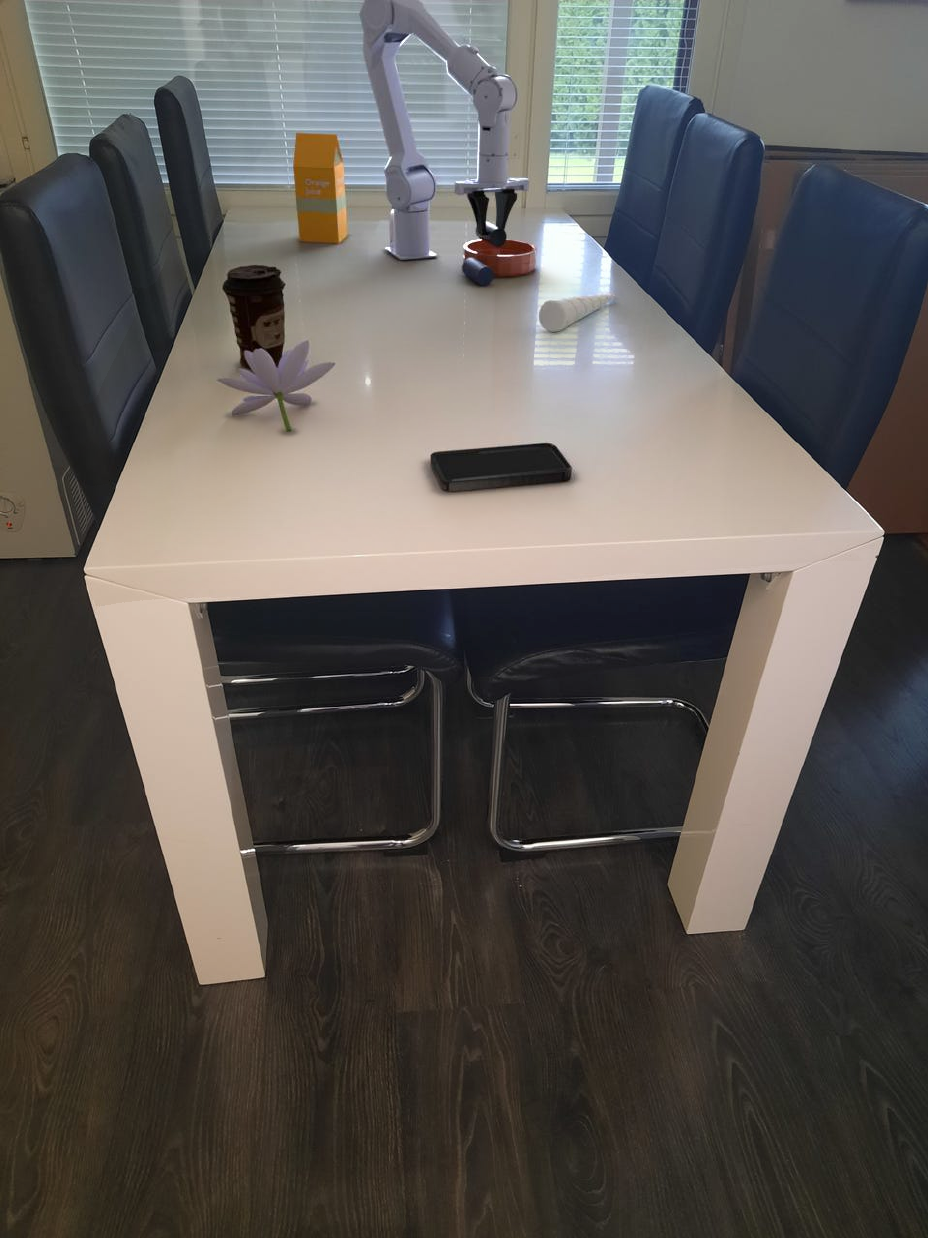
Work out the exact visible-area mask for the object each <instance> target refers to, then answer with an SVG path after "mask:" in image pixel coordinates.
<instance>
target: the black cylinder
mask: <svg viewBox="0 0 928 1238" xmlns="http://www.w3.org/2000/svg"><path fill="white" fill-rule="evenodd" d="M475 235H476V237H477V238H478V240H480V239H481V240H483V241H485V242H487V243H489V244H491V245H492V246H494V247H501V246H502V245H504V243H505V242H506V239H508V237H507V235H508V234H507V231H505V230H503V229H502V228H500V227H498V226H496V224H493V223H491V222H489V221H488V220H486V233H485V235H480V234H478V230H477V225H476V227H475Z"/></svg>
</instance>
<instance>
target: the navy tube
mask: <svg viewBox="0 0 928 1238" xmlns="http://www.w3.org/2000/svg"><path fill="white" fill-rule="evenodd" d="M461 270H462V273H463V275H464V276H466V277H467V278H469V279H470V280H472V281H474V282H475V283H477V284H478V285H480V286H482V287H486V286H489V285H491V283H492V282H493V280H494V278H495V277H494V273H493V270H492V269H491V268H490V267H488V266H486V265H484V264H483V263H481V262H479V261H478V260H476V259H474V258H468V259H466V260H465V261H464V263H463V262H462V266H461Z"/></svg>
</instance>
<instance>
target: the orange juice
mask: <svg viewBox="0 0 928 1238" xmlns="http://www.w3.org/2000/svg"><path fill="white" fill-rule="evenodd" d="M294 144H295V145H294V152H293V165H292V168H293V180H294V190H295V191H294V192H295V206H296V213H297V214H296V215H297V225H298V226H297V227H298V238H299V242H305V243H306V242H308V243H326V244H340V243H341V242H342V241H344V240H345V238H347V237H348V219H347V197H346V196H347V195H346V183H345V182H346V181H345V164H344V160H343V157H342V151H341V147H340V143H339V138H338V135H337V134H330V133H307V132H304V133H303V132H296V133H295V141H294Z"/></svg>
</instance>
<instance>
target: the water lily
mask: <svg viewBox="0 0 928 1238" xmlns="http://www.w3.org/2000/svg"><path fill="white" fill-rule="evenodd" d="M309 350H310V341H309V340H304V341H301V342H300V343H299V344H297V345H296V346H295V347H294V348H293V349H288V350H287V351H285V352H284V353H283V354H282V358H281V360H280V362H279V366H278V369H277V368H276V366H275V364H274V361H273V359H272V357H271V356H270V355H269V354H268V353H267V352H266V351H265V350H263V349H261V348H260V349H255V350H254V352H253V353H252V352H250V351H244V355H245V358H246V360H247V362H248V364H249V366H250V368H251V369H252V371H248V370H245V369H244V368H240V367H239V368H236V371H237V372H238V374H240V376H241V377H243V378H244V379H243V378H242V379H241V378H236V377H220V378H217V379H216V381H217V382H219V383H221V384H223V385H225V386H227V387H230V388H231V389H234V390H238V391H241V392H245V393H249V394H256V395H249V396H245V397H244V398H243V399H242V402H241V403H240V404H238V405H237V406H235V407H234V408H233V409H232V411H231V416H238V415H244V414H249V413H252V412H255V411H258V410H260V409H262V408H264V407H266V406H267V405H269V404H270V403H272V402H273V401H274V400H275V399H277V402H278V406H279V410H280V413H281V418H282V421H283V424H284V429H285V431H286V432H292V427H291V424H290V421H289V417H288V414H287V411H286V408H285V403H287V404H289V405H293V406H305V405H309V404H312V401H313V399H312V396H311V395H310V394H308V393H305V392H299V393H295V392H297V391H299V390H303V389H305V388H306V387H308V386H311V385H312V384H314V383H315V382H318V380H320V379H322V378H323V377H324V376H325V375H327V374H328V373H329V372H330V371H331V370H332V369H333V368H334V367H335V365H336V362H332V361H331V362H330V361H329V362H323V363H318V364H316V365H314V366H312V367H309V368H308V369H307V367H308V365H309V364H310V363H309V362H310V360H309V359H307V358H308V355H309ZM284 402H285V403H284Z"/></svg>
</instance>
